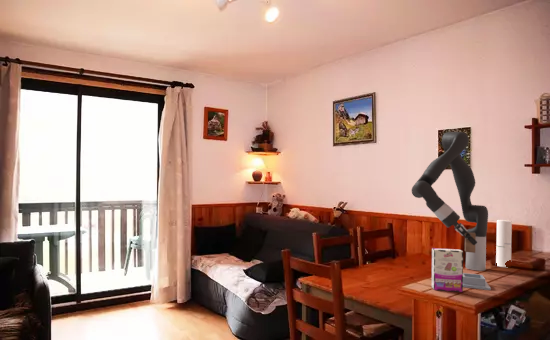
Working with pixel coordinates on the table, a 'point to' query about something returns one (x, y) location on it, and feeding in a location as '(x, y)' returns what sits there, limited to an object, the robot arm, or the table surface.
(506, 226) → the cylindrical container
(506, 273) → the table surface
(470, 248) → the walnut block
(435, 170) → the robot arm
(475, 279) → the socket stand
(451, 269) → the candy bar box
